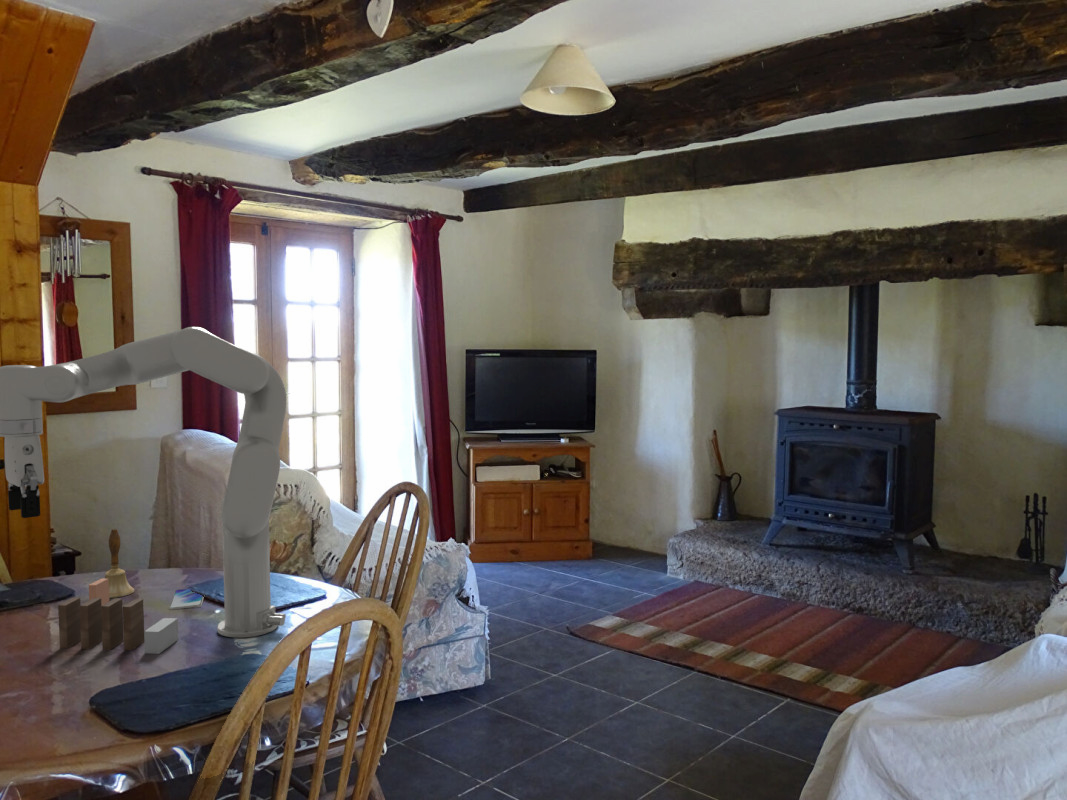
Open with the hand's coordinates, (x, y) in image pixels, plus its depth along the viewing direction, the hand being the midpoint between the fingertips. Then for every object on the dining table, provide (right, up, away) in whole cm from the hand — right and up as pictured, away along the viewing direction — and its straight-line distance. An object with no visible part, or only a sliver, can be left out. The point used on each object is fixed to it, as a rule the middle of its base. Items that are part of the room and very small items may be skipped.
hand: (24, 513), depth 170 cm
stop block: (+25, -28, +5) cm, 38 cm away
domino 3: (+11, -28, +6) cm, 30 cm away
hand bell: (-1, -25, +40) cm, 48 cm away
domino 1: (+6, -28, +6) cm, 29 cm away
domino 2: (+5, -27, +20) cm, 34 cm away
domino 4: (+15, -28, +6) cm, 32 cm away
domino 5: (+20, -28, +5) cm, 34 cm away
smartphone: (+18, -26, +36) cm, 48 cm away
